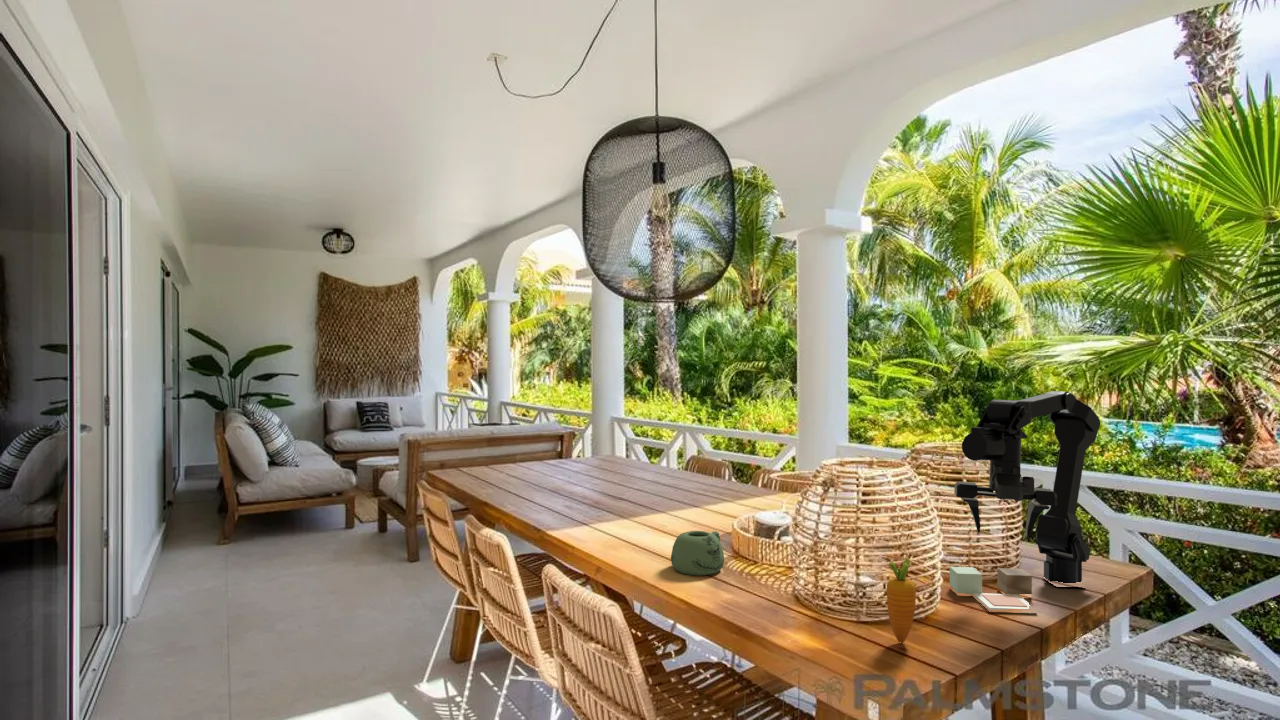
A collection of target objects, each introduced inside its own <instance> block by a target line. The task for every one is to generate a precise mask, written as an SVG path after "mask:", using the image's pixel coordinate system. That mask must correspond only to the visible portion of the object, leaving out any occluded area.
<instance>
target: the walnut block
mask: <svg viewBox="0 0 1280 720" xmlns="http://www.w3.org/2000/svg"><path fill="white" fill-rule="evenodd" d="M996 572H997V573H996V574H997V575H996V576H997V584H996V586H997V588H999V589H1000V590H1001V591H1003V592H1004V593H1005V594H1018V595H1019V594H1032V595H1033V591H1032V590H1033V588H1032V587H1033V579H1032V578H1033V575H1031V574H1030V573H1028V572H1027V571H1026V570H1025V569H1023V568H1005V567H997V571H996Z"/></svg>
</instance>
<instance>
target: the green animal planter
mask: <svg viewBox="0 0 1280 720" xmlns="http://www.w3.org/2000/svg"><path fill="white" fill-rule="evenodd" d="M670 560H671V566H672V568H674V569H675V570H676V571H677V572H678V573H681V574H683V575H689V576H701V577H702V576H709V575H715V574H717V573H718V572H719V571H721V570H722V569H723V568H724V562H725V554H724V549H723V545H722V543H721V537H720V533H719V532H718V531H716V530H715V531H712V532H708V531H704V530H690V531H686V532H682V533H680V534H679V535H677V537H676V538H675V540H674V542H673V545H672V550H671V555H670Z"/></svg>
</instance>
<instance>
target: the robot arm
mask: <svg viewBox="0 0 1280 720" xmlns="http://www.w3.org/2000/svg"><path fill="white" fill-rule="evenodd" d="M1045 415H1048V417H1047V418H1048V420H1049V421H1050V422H1051V423H1052V424H1053V425H1054V432H1053V433H1054V435H1055V438H1056V440H1057V443H1058V444H1059V452H1058V458H1057V465H1056V471H1055V478H1054V483H1053V489H1050V488H1043V487H1035V479H1034V476H1022V475H1021V466H1022V465H1021V464H1022V463H1021V460H1022V459H1021V458H1022V440H1024V439H1025V440H1027V439H1028V435H1027V434H1026V433H1025V432H1024V431H1023V430H1022V429H1023V428H1024V427H1026V426H1028V425H1029V424H1031V423H1032V420H1033V419H1034V418H1038V417H1042V416H1045ZM1100 427H1101V420H1100V417H1099V416H1098V414H1096V412H1095V411H1094V410H1093V408H1092V407H1091V406H1089V405H1087V404H1086V403H1084V402H1082V401H1080V400H1079V399H1077V397H1076V396H1075V395H1074V393H1072V392H1071V393H1070V392H1069V391H1053V390H1050V391H1048V392H1046V393H1042V394H1039V395H1035V396H1031V397H1027V398H1023V399H1018V400H1009V399H992V400H991V401H989V402H988V405H987V406H986V408H985V410H984V412H983V414H982V415H981V417H980V420H979V421H978V422H977V425H976V426H971V428H970V429H971V431H970V432H969V433H968V434H967V435H966V436H965V437H964V438H963V441H962V443H961V449H962V450H961V451H962V453H963V454H964V456H965V458H967V459H969V461H973V462H974V461H975V462H976V461H978V462H982V461H989V481H988V482H989V483H988V485H989V487H987V486H978V484H977V483H976V482H971V481H960V480H959V481H957V482H956V483H955V484H954V495H955V496H956V498H960V499H961V500H962V502H963V503H967V505H968V507H969V510H970V512H971V514H972V518H973V522H974V524H975V528H976V531H977V533H981V520H980V510H979V509H980V508H979V503H980V501H979V499H977V498H978V496H982V497H995V498H997V499H998V500H1003V501H1004V500H1013V501H1016V502H1021V501H1023V500H1025V501H1026V500H1027V501H1028V505H1027V515H1026V522H1025V538H1030V536H1031V533H1032V531H1033V529H1034V526H1035V524H1036V523H1037V526H1036V529H1035V539H1036V543H1037V547H1038V552H1039V554H1040V555H1042V554H1043V555H1045V560H1044V561H1043V577H1045V578H1046V579H1048V580H1050V581H1058V582H1063V583H1076V582H1081V581H1082V582H1083V563H1087V561H1088V560H1089V559H1090V556H1091V549H1090V548H1089V546H1088V545H1087V543H1086V541H1085V540H1084V539H1083V537H1082V533H1083V532H1082V531H1083V528H1082V526H1081V525H1082V524H1081V523H1080V520H1079V518H1078V517H1077V507H1078V501H1079V500H1078V499H1079V493H1080V487H1081V482H1082V475H1083V469H1084V462H1085V458H1086V457H1085V455H1086V451H1087V450H1088V449H1089V448H1090V447H1091V446H1092V445H1093V444H1094V443H1095V442H1096V439H1097V436H1098V433H1099V430H1100ZM1045 510H1047V511H1046V512H1045V514H1042V512H1044V511H1045Z"/></svg>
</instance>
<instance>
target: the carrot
mask: <svg viewBox="0 0 1280 720" xmlns="http://www.w3.org/2000/svg"><path fill="white" fill-rule="evenodd" d="M910 562H911V559H909V558H908V557H905V558H904V563H903V564H902V566H901V568H900V567H898V568H897V566H896V563H895V564H894V563H893V562H890V563H889V566H890V568H891V569H892V572H893V573H894V575H895V577H892V578H891V577H890V579H889V580H888V582H886V604H887V605H886V606H887V612H888V618H889V619H888V620H889V623H890V626H891V629H892V632H893V635H894V637H895V638H896V640H897V642H898V643H900V642H901V643H902V644H904V642H905V641H906V640H907V638H908V636H909V634H910V632H911V629H912V626H913V622H914V617H915V611H916V601H917V599H916V598H917V597H916V596H917V587H916V583H915V582H914V581H912V580H911V579H909V578H906V577H907V573H908V572H909V566H910ZM901 643H900V644H901Z"/></svg>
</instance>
